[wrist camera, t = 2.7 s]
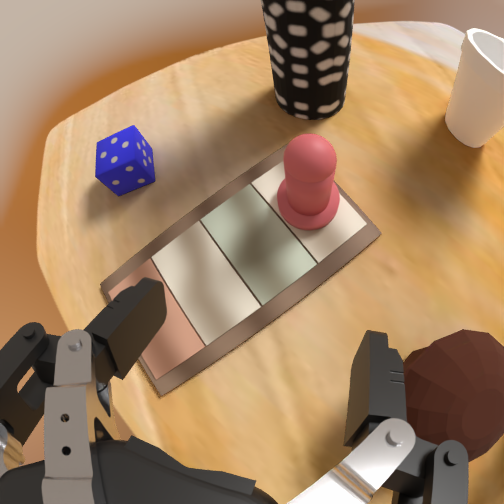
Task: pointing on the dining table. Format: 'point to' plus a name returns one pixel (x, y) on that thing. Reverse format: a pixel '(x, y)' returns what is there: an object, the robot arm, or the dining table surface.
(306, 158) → the pawn
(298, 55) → the white-spotted black cylinder
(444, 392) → the muffin
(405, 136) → the dining table surface
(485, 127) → the foam cup
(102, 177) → the die
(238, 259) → the game track
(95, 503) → the robot arm
